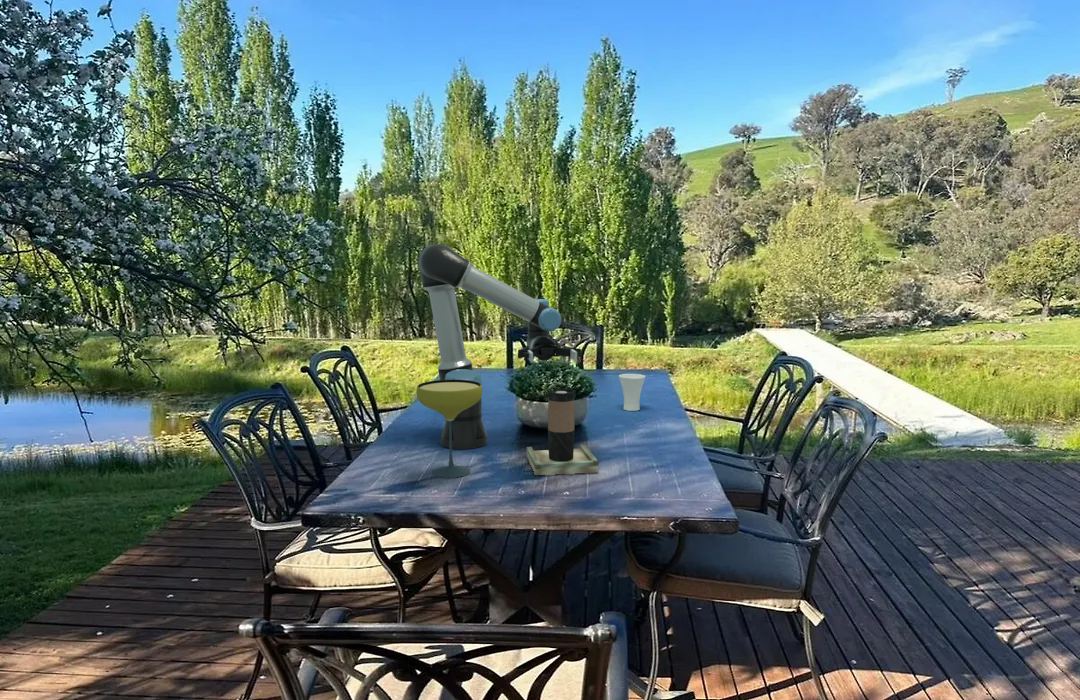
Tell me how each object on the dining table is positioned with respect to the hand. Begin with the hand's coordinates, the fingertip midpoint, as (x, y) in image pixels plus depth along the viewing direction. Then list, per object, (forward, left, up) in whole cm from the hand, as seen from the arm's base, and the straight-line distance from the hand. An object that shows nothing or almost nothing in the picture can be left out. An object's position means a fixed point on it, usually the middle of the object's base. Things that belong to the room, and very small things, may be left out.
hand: (554, 357), depth 209 cm
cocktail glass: (-32, -15, -30) cm, 46 cm away
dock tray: (0, -13, -30) cm, 33 cm away
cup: (+41, +55, -30) cm, 75 cm away
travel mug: (0, -13, -28) cm, 31 cm away
